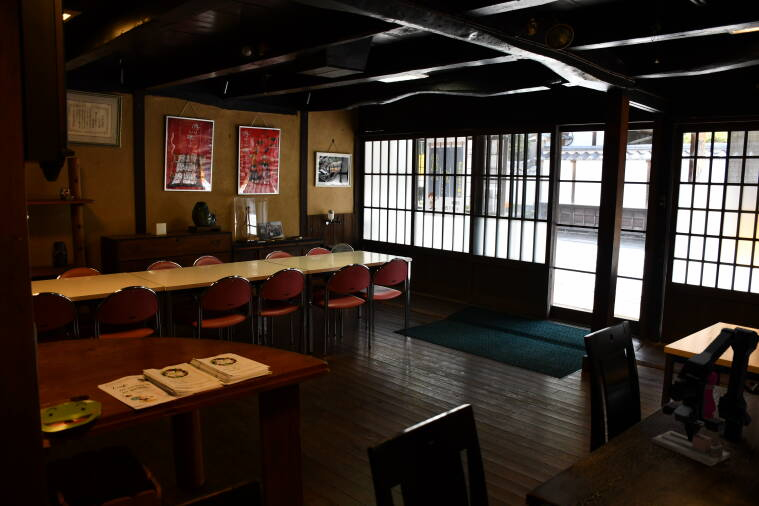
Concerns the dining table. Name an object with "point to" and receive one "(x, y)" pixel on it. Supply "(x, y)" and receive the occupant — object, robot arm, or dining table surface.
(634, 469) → the dining table surface
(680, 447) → the track board
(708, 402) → the pepper mill
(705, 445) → the terracotta cardboard box
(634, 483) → the dining table surface
